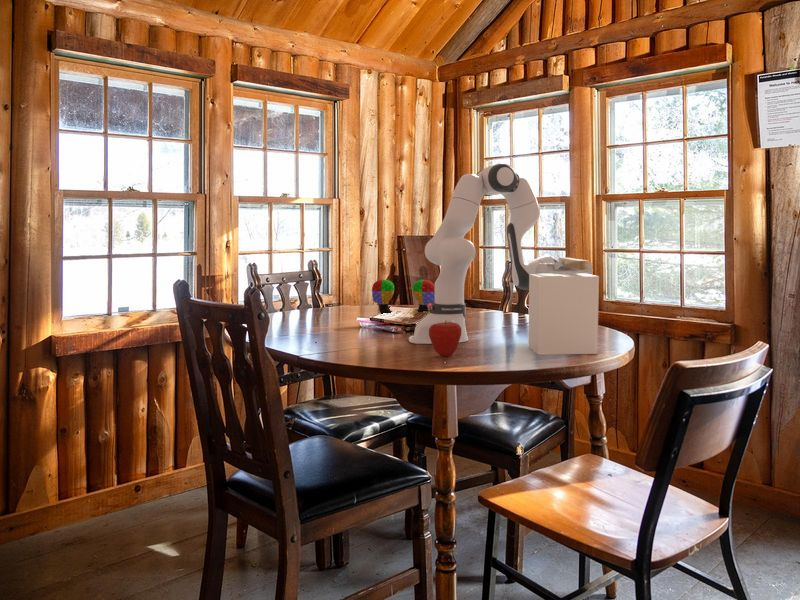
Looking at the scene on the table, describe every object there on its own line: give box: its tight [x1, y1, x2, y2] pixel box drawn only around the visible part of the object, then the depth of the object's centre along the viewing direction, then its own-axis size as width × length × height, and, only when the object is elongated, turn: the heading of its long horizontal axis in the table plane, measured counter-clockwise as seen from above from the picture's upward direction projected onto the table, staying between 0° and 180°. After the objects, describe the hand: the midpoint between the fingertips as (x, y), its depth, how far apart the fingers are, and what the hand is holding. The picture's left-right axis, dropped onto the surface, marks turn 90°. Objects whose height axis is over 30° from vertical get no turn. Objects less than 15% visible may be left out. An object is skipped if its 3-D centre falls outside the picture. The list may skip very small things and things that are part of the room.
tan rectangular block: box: [558, 257, 591, 270], centre depth 238 cm, size 4×24×3 cm, turn 3°
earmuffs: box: [371, 278, 435, 315], centre depth 302 cm, size 28×9×20 cm, turn 78°
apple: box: [429, 321, 461, 358], centre depth 228 cm, size 11×11×12 cm
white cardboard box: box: [528, 273, 600, 356], centre depth 235 cm, size 20×14×26 cm
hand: (569, 261), depth 243 cm, fingers closed on tan rectangular block, 3 cm apart
